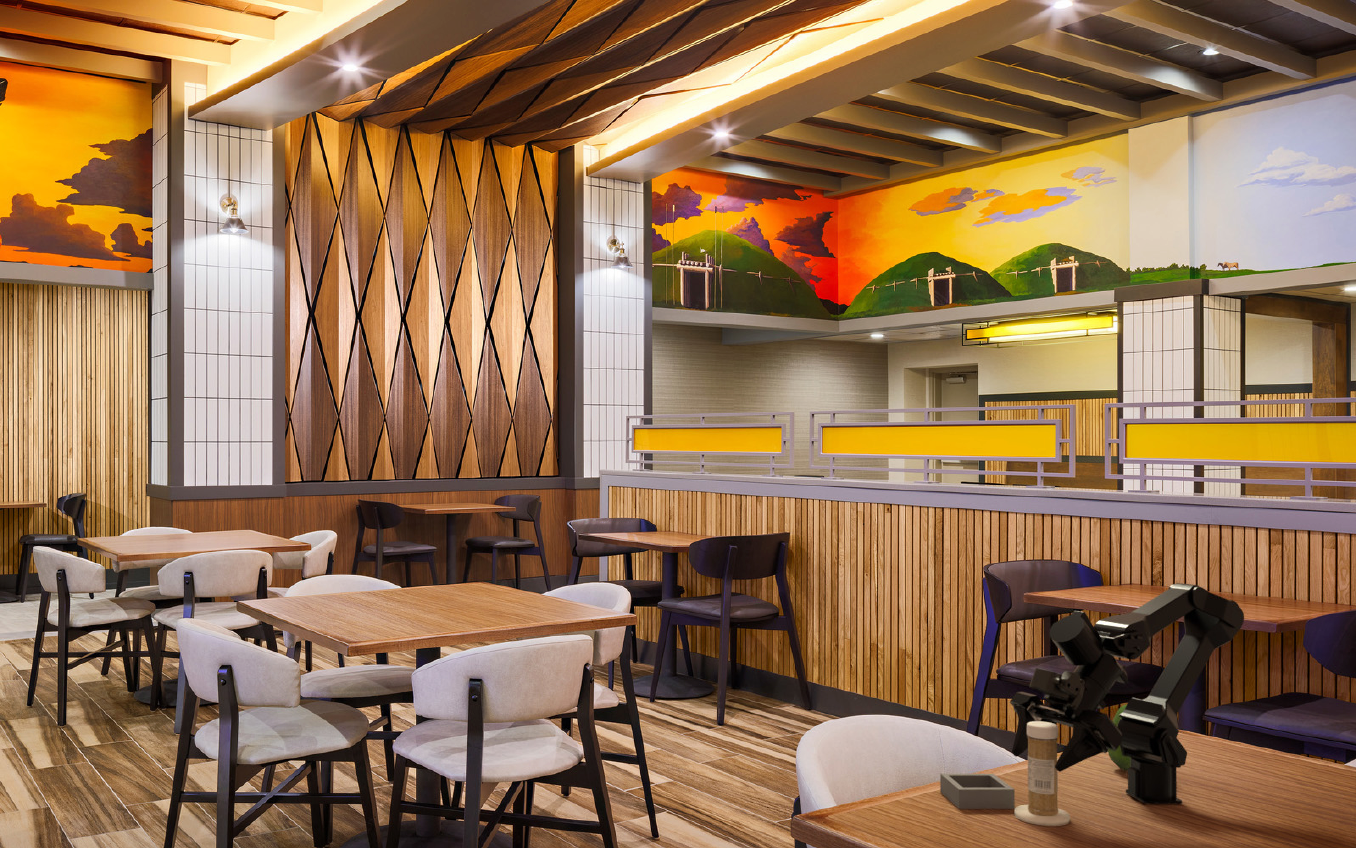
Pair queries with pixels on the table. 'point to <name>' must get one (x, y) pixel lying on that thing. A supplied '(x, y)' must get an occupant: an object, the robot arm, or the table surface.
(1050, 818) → the white round coaster
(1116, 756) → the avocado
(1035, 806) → the sprinkles bottle
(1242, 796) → the table surface
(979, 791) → the sleeve
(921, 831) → the table surface
